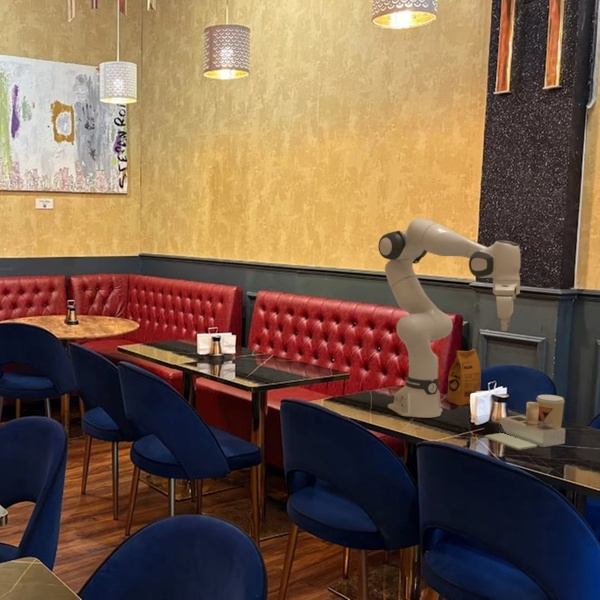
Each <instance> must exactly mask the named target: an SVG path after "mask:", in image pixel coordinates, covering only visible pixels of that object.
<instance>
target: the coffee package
mask: <svg viewBox="0 0 600 600" xmlns="http://www.w3.org/2000/svg"><path fill="white" fill-rule="evenodd" d="M454 354H455V355H456V357H455V359H454V362H453V364H452V365H451V367H450V369H449V372H448V376H447V377H448V379H447V380H448V382H447V383H448V384H447V398H446V399H447V401H448V403H451V404H453V405H457V406H461V407H463V406H465V405H470V404H469V399H470V394H471V393H472V392H476V391H480V392H481V387H482V386H481V382H482V380H481V377H482V373H481V372H482V371H481V369H482V367H481V362H480V359H479V356H478V352H477V350H476V349H475V348H472V349H471V350H468V351H466V350H455V352H454Z"/></svg>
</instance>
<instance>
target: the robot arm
mask: <svg viewBox="0 0 600 600" xmlns="http://www.w3.org/2000/svg"><path fill="white" fill-rule="evenodd" d="M378 251H379V254H380V256H381V257H382V258H384V259H386V260H389V261H387V263H386V264H385V266H384V273H385V276H386V279H387V283H388V285H389V288H390V291H391V292H392V294H393V296H394V298H395V301H396V303H397V305H398V307H399V308H400V309H401V310H403V311H405V312H406V313H408V314H407V315H404V316H402V317H400V318H399V320H397V323H396V328H395V329H396V333H397V336H398V337H399V339H400V340H401V341H402V342H403V343H404V345H405V347H406V350H407V355H408V376H405V377H404V379H403V380H404V381H405V385H403V387H401V388H400V389H398V390H397V391H396V392H395V393H394V396H393V397H394V398H393V403H389V404H387V408H388V409H390V410H391V411H394V412H396V414H398V415H400V416H403V417H411V418H412V417H413V418H437V417H440V416H441V415H442V412H443V408H442V407H441V406H442V405H441V393H440V390H439V387H440V378H439V357H438V355H437V354H436V353H434V351H433V350H432V344H431V342H434V341H440V340H442V339H444V338H446V337H448V336H450V335H451V333H452V331H453V327H454V326H453V321H452V318H451V317H450V316H449V315H448V314H447V313H445V312H443V311H442V310H441V309H440V308H438V306H436V305H435V303H433V301H432V300H431V299H430V298H429V297H428V295H427V294H426V292H425V291H424V289H423V287H422V285H421V282H420V280H419V279H418V277H417V275H416V272H415V271H414V268H413V264H418V263H420V262H421V260H422V259H423V258H424V257H425V256H426V255H427V253H430V254H432V255H434V256H440V257H461V258H468V259H469V260H468V268H469V271H470V273H471V275H473V276H474V277H476V278H479V279H487V278H488V279H491V278H492V293H493V295H494V296H495V298H496V299H495V300H496V301H495V302H496V314H497V318H499V319H500V324H501V327H500V328H501V331H502V332H507V331H508V329H509V328H510V322H511V321H510V320H511V316H512V314H513V313H514V300H515V299H517V295H519V294H521V275H520V269H521V249H520V246H519V244H518V243H516V242H515V241H512V240H511V241H510V240H504V239H500V240H496V241H495V242H494V243H493V244H491V245H490V246H487V245H484V244H481V243H480V242H477V241H474V240H471V239H469V238H468V237H465V236H463V235H462V234H460V233H458V232H455V231H453V230H452V229H450V228H448V227H446V226H444V225H442V224H441V223H438V222H435V221H433V220H430V219H427V218H423V217H422V218H421V217H419V218H414V219H413V220H412V221H411V222H409V224H408V227H407V229H406V230H405V231H401V230H396V231H391V232H387V233H385V234H384V235H382V236H381V238H379V241H378Z"/></svg>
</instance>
